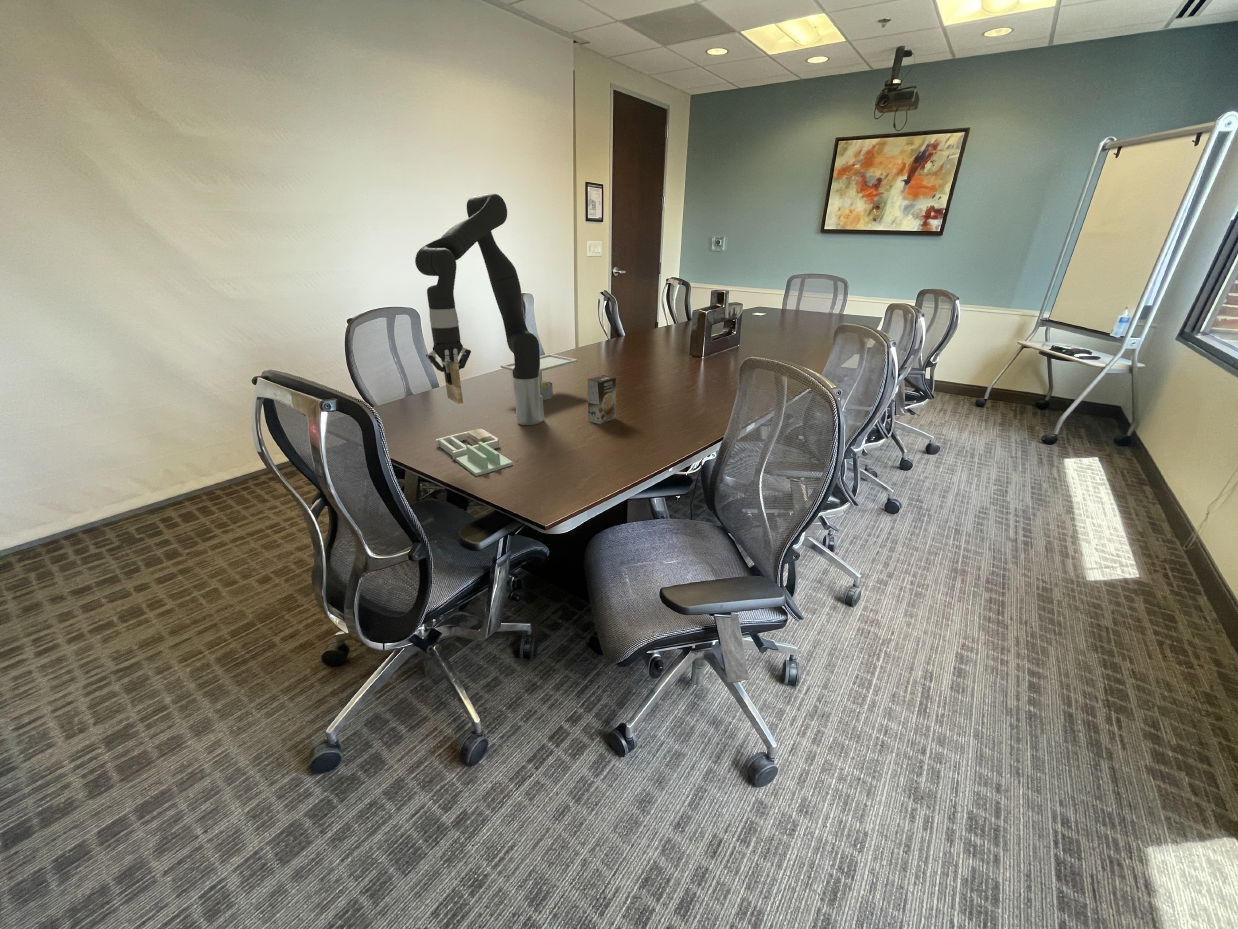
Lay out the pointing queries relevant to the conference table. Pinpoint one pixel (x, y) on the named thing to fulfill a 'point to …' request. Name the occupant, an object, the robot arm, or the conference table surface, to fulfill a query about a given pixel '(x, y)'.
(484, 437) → the offcut stack
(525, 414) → the robot arm
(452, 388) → the wooden board
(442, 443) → the rack
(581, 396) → the conference table surface
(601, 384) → the coffee box
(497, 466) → the stand
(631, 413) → the conference table surface
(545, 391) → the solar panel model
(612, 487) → the conference table surface
